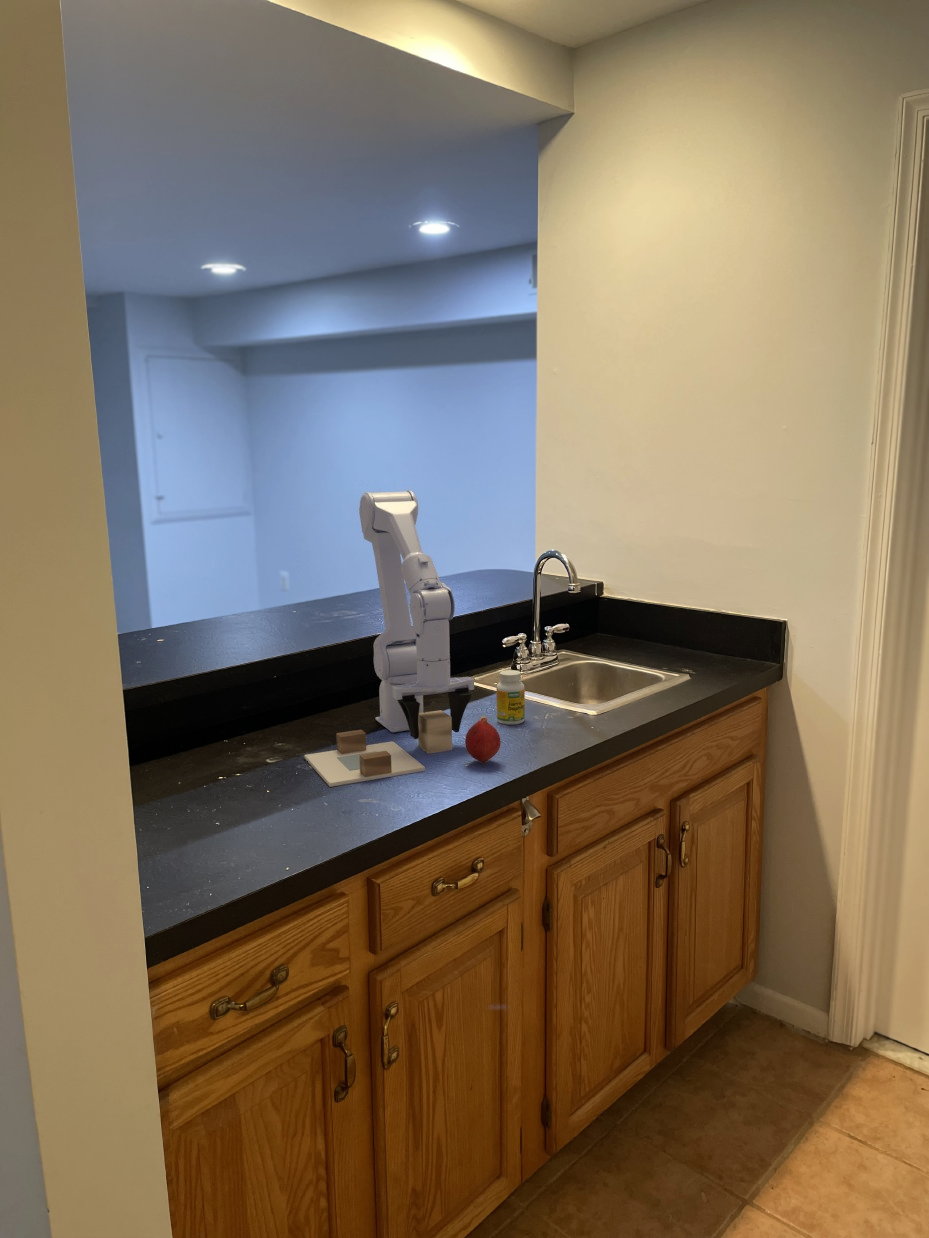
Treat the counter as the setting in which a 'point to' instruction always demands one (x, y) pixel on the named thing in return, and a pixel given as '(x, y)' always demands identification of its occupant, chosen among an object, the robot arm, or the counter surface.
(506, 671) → the supplement bottle
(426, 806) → the counter surface
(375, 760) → the walnut blocks
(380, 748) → the board
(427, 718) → the maple block
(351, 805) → the counter surface
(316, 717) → the counter surface
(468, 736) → the onion
